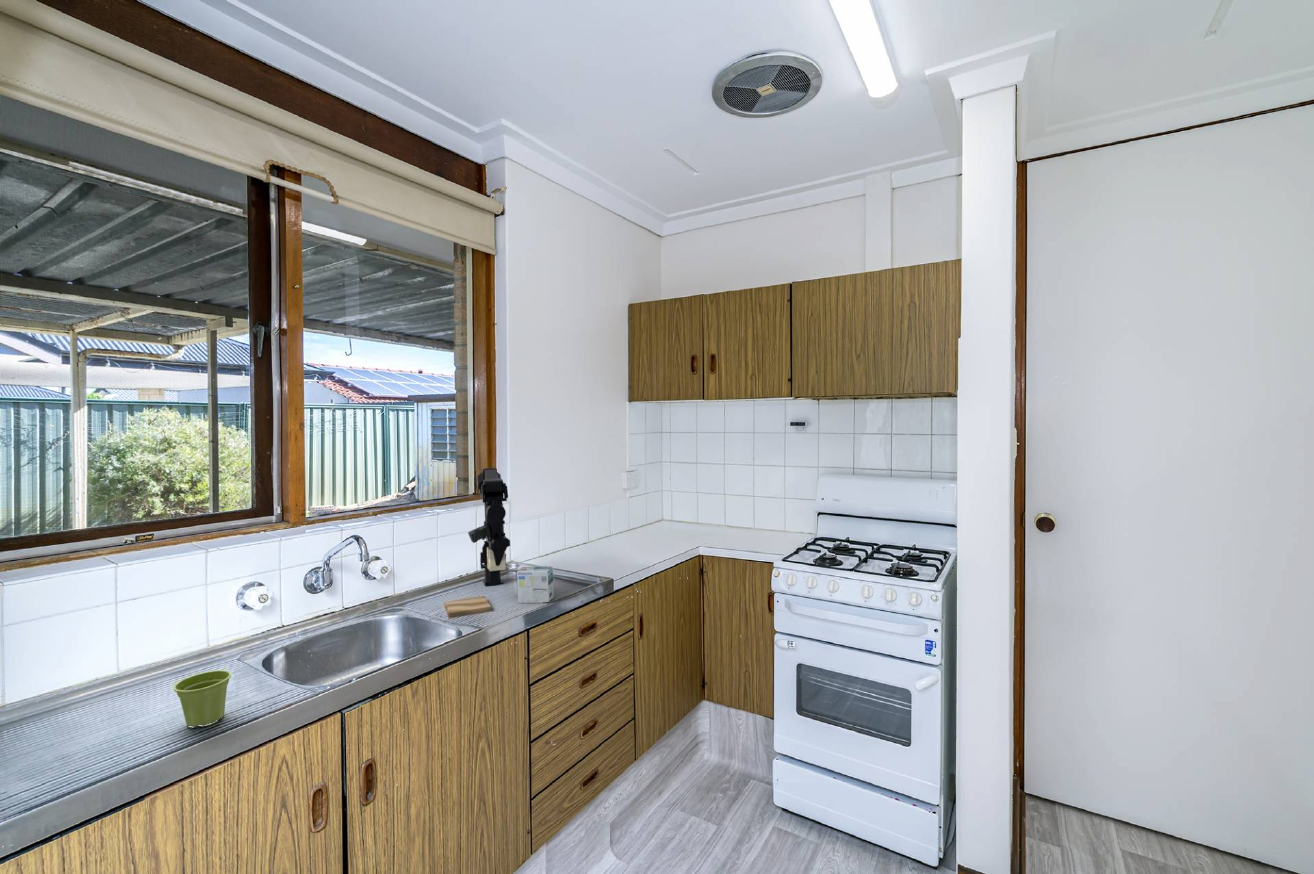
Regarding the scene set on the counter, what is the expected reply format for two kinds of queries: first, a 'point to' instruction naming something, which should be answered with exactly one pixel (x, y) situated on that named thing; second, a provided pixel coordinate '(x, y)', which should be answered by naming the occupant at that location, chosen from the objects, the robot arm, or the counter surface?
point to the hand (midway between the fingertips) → (496, 564)
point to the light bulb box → (535, 584)
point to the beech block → (491, 561)
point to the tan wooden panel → (467, 606)
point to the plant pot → (203, 696)
